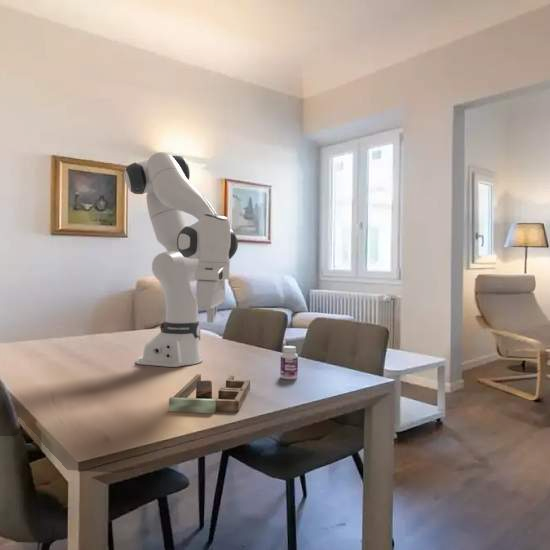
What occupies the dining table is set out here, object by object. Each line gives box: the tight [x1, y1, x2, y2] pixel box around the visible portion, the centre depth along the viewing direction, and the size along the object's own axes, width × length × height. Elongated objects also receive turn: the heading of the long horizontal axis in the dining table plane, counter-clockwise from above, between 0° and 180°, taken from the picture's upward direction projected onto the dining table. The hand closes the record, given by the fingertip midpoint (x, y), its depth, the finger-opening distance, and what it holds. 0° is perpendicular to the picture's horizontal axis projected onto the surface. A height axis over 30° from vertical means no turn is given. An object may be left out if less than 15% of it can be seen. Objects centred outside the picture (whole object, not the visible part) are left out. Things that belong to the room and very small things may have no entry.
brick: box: [195, 380, 213, 399], centre depth 117 cm, size 11×4×5 cm, turn 8°
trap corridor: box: [168, 373, 251, 414], centre depth 123 cm, size 16×26×3 cm, turn 175°
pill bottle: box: [279, 345, 299, 380], centre depth 144 cm, size 5×5×10 cm
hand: (211, 321), depth 130 cm, fingers closed
